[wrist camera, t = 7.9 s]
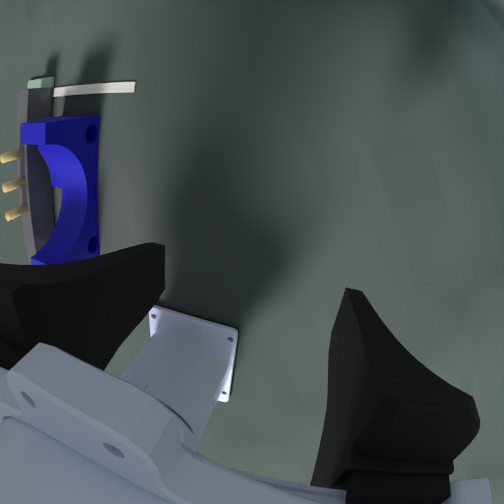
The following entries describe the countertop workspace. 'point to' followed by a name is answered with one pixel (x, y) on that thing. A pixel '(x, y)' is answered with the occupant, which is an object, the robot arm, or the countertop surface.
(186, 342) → the robot arm
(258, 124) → the countertop surface
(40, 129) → the blue mounting bracket
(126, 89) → the lane marks
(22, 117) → the header strip
